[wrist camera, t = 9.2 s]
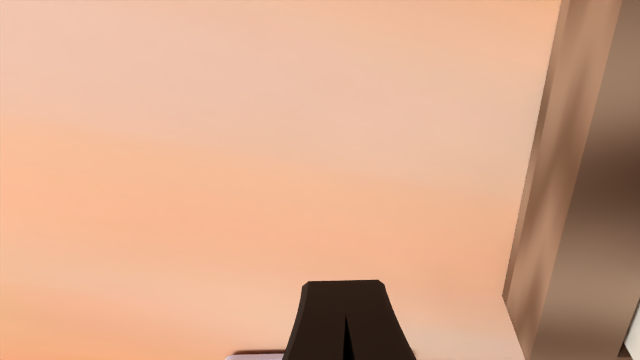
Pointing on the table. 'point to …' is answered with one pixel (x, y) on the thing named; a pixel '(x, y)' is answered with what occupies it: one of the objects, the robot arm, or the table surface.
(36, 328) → the table surface
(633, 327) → the ivory key
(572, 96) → the key box
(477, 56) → the table surface
